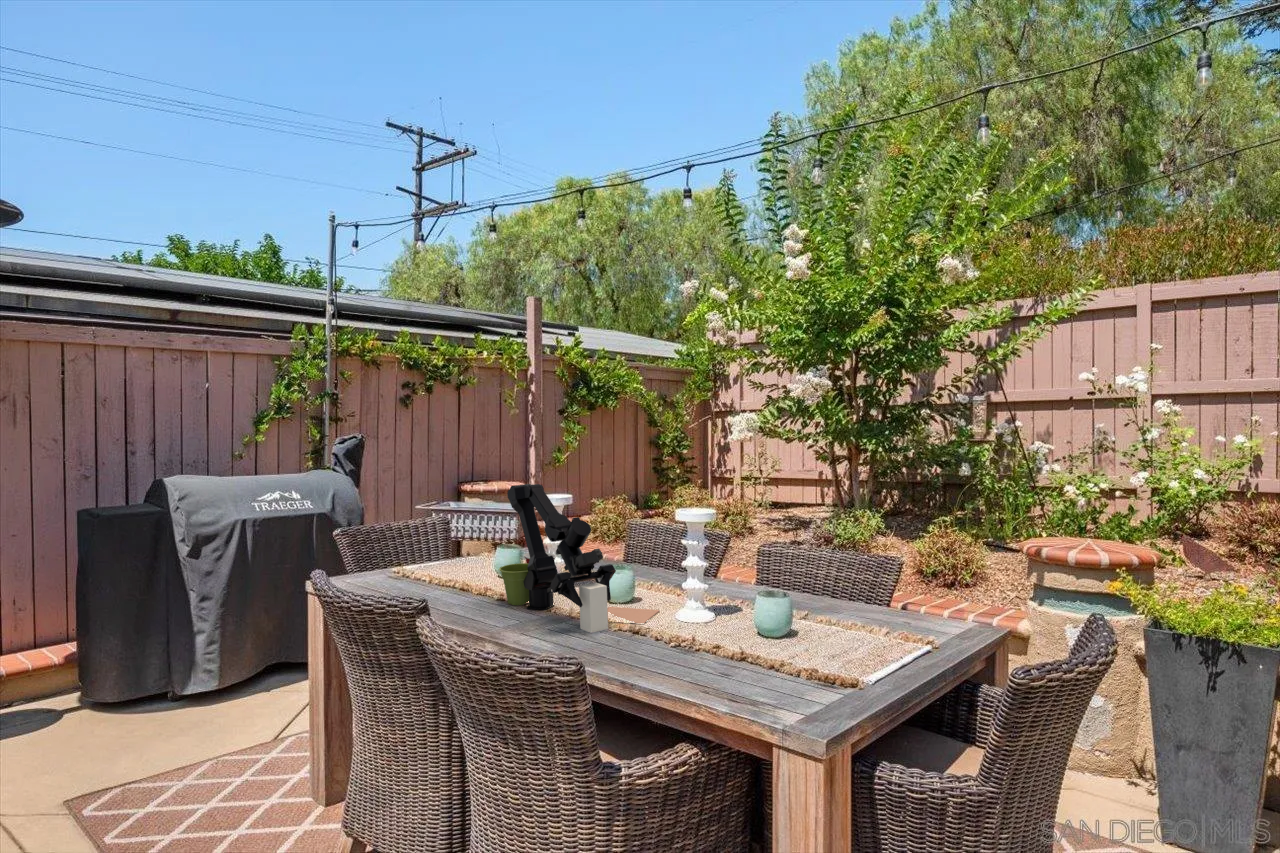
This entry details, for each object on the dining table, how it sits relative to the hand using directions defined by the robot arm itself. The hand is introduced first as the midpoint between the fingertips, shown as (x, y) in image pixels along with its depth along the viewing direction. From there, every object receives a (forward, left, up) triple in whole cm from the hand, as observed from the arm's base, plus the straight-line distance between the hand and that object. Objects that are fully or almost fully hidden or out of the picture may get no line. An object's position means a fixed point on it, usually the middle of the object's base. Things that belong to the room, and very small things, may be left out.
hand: (595, 603), depth 217 cm
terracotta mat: (+3, +15, -7) cm, 17 cm away
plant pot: (-35, +21, -8) cm, 41 cm away
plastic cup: (-36, +38, -8) cm, 53 cm away
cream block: (-1, +1, -7) cm, 7 cm away
